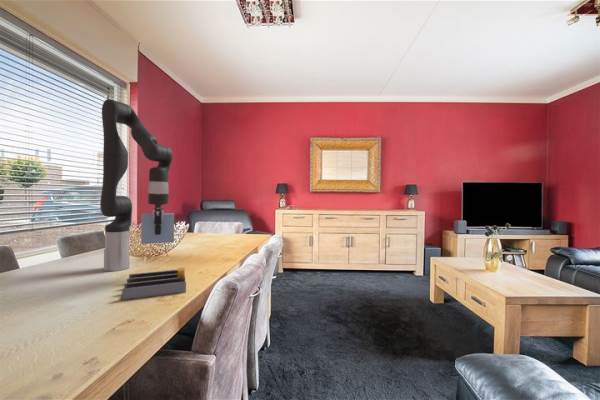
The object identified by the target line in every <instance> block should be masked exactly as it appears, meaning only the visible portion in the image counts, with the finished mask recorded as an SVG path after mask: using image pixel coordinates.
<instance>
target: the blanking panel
mask: <svg viewBox="0 0 600 400" xmlns="http://www.w3.org/2000/svg"><path fill="white" fill-rule="evenodd" d="M140 220H141V230H140V231H141V236H140V237H141V238H140V242H141V243H140V244H142V245H143V244H144V245H145V244H147V245H148V244H162V243H163V244H164V243H166V244H167V243H174V241H175V213H163V219H162V220H161V222H162V225H161V234H160V235H155V225H154V219H153V213H141V219H140ZM158 221H160V220H156V222H158Z"/></svg>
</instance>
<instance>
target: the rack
mask: <svg viewBox="0 0 600 400" xmlns="http://www.w3.org/2000/svg"><path fill="white" fill-rule="evenodd" d="M185 271H186V270H185V267H177V269H170V270H161V271H160V270H159V271H151V272H140V273H129V275H128V278H127V279H126V283H125V284H124V288H122V290H121V292H122V293H121V296H122V297H121V298H122V299H121V301H122V302H123V301H128V300H137V299H145V298H153V297H159V296H166V295H175V294H176V295H177V294H182V293H186V292H187V281H186V276H185V274H186V273H185Z"/></svg>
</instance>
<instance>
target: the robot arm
mask: <svg viewBox="0 0 600 400" xmlns="http://www.w3.org/2000/svg"><path fill="white" fill-rule="evenodd" d="M101 119H102V120H101V121H102V129H103V130H102V132H103V155H102V156H103V157H102V159H103V160H102V167H103V168H102V171H103V172H102V187H101V194H100V195H101V196H100V206H99V207H100V212H101V214H102V215H103V216H104V217H106V218H109V217H110V218H111V217H114V219H113V220H112V221H111V222H110V223H108V224H106V225H105V227H104V241H105V242H104V249H103V272H117V271H124V270H127V269H130V227H131V225H132V219H133V218H132V214H133V203H132V200H131V199H130V197H128V196H127V195H117V190H118V186H119V182H120V181H121V179H122V178H123V176H124V175H125V174H126V171H127V170H128V167H129V153H128V149H127V148H126V146H125V144H124V143H123V140H122V139H121V137H120V135H119V131H118V127H117V126H118V125H117V124H121V125H125V126H127V127H128V128H130V134H131V138H132V139H133V140H134V142H136V144H137V145H138V146H139V147H140V148H141V151H142V153H143V155H144V157H145V158H146V159H148V160H150V161H152V162H158V164H157V165H156V166H154V167H151V168H150V169H149V170H148V171H149V172H148V174H149V175H148V177H149V178H148V179H149V180H148V191H147V192H148V193H147V198H148V200H147V202H148V205H154V208H152V214H153V219H154V225H155V235H160V234H161V225H162V222H161V220H162V219H163V214H164V211H165V210H164V208H162V205H169V191H170V190H169V188H170V187H169V170H170V169H171V165H172V162H173V157H174V153H173V151H172V148H170V146H167V145H162V144H158V140H157V138H156V137H155V136H154V134H153V133H152V132H151V131H149V129H147V128H146V126H145V125H144V123H143V122H142V121H141V119H140V118H139V116H138V115H137V113H136V112H135V110H134V109H133V108H132V106H130V105H129V104H126V103H124V102H121V101H118V100H115V99H112V98H110V99H109V98H107V99H105V100H104V101H103V104H102V105H101ZM156 220H160V221H158V222H156Z"/></svg>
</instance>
